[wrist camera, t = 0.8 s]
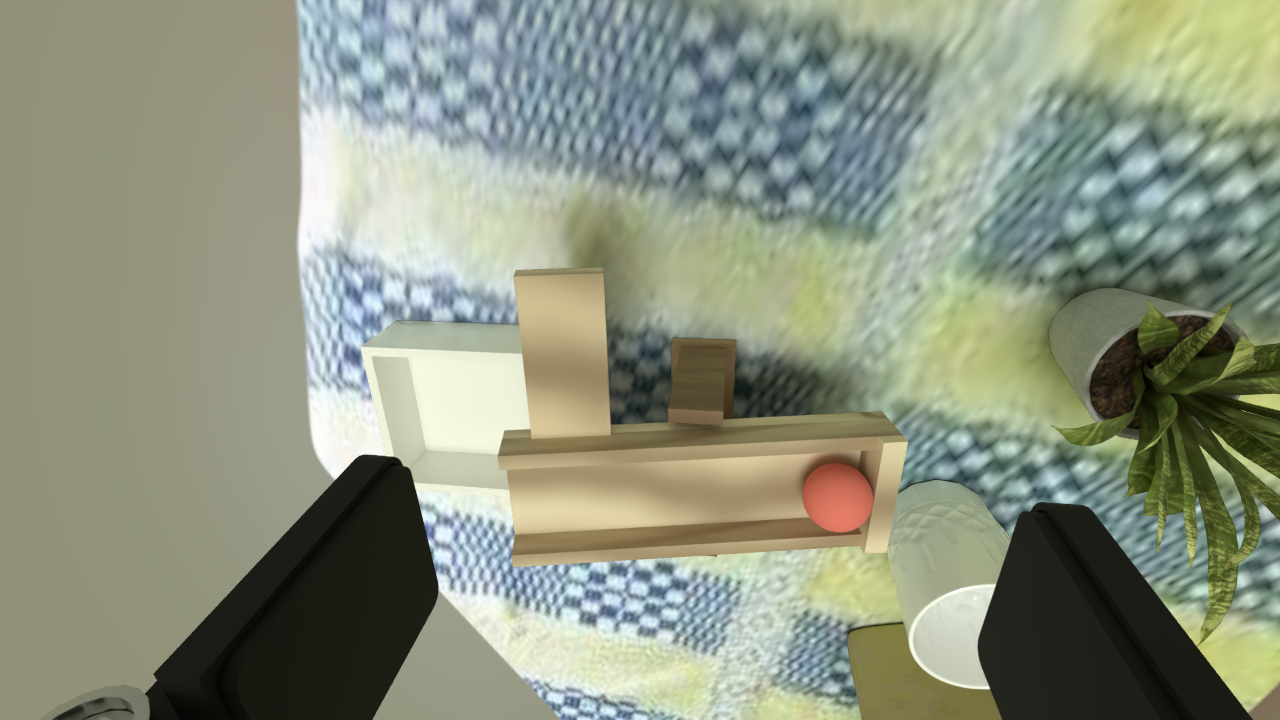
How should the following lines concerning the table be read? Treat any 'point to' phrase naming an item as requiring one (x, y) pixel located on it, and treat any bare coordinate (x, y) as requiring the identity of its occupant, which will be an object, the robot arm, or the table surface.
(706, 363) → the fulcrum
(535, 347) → the lever
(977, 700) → the cheese
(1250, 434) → the house plant
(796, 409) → the table surface
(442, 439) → the dish
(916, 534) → the white cup
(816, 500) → the ball
